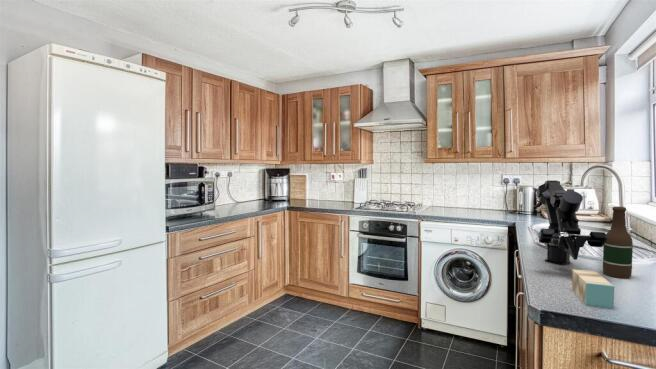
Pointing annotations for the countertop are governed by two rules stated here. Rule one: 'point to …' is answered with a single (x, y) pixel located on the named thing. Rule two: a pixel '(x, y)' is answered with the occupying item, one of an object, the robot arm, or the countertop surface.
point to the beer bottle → (618, 247)
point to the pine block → (593, 288)
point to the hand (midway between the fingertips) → (575, 259)
